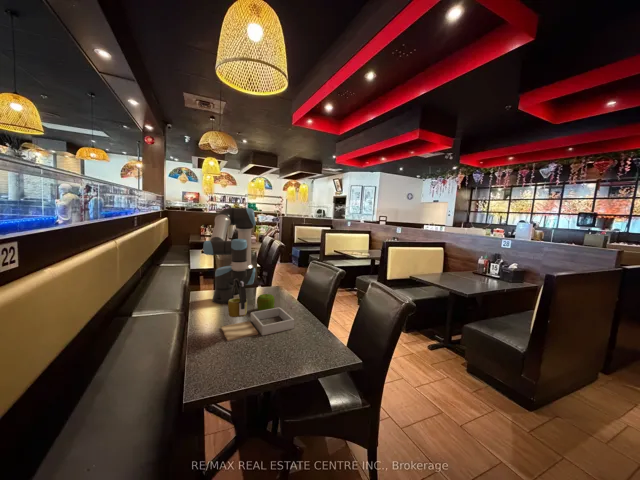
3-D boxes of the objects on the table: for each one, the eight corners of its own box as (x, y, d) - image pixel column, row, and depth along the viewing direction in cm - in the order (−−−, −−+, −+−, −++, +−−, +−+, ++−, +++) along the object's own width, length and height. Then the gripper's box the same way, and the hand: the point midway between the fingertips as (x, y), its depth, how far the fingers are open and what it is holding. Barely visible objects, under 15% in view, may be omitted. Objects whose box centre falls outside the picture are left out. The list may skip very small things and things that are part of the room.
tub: (250, 320, 147) (250, 312, 147) (279, 315, 157) (279, 307, 156) (262, 335, 131) (262, 326, 130) (294, 328, 140) (294, 319, 139)
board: (221, 328, 137) (221, 326, 136) (249, 323, 145) (249, 320, 144) (227, 341, 124) (227, 338, 124) (257, 334, 132) (257, 332, 132)
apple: (273, 306, 170) (273, 290, 169) (275, 312, 160) (276, 295, 159) (256, 308, 167) (256, 291, 166) (257, 314, 157) (257, 297, 155)
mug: (243, 317, 125) (239, 296, 126) (225, 321, 127) (222, 300, 129) (255, 312, 136) (252, 294, 138) (239, 316, 139) (236, 297, 140)
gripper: (226, 265, 138) (226, 304, 141) (237, 275, 119) (237, 320, 121) (240, 264, 142) (240, 302, 145) (253, 273, 123) (253, 317, 125)
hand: (239, 310), depth 133 cm, fingers closed on mug, 11 cm apart
